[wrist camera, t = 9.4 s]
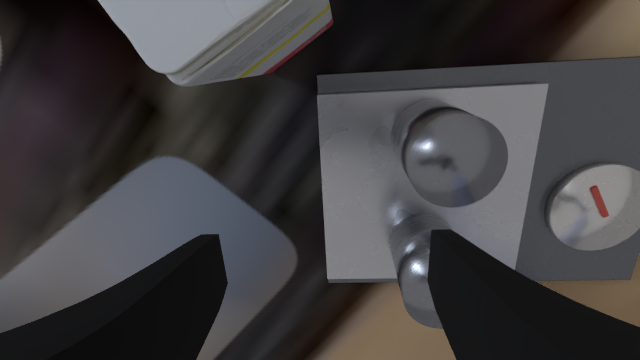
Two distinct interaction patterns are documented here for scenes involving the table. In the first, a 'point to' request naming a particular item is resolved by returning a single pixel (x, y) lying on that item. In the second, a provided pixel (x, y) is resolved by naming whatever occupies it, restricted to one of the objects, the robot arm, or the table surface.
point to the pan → (395, 187)
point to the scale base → (558, 160)
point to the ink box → (218, 35)
